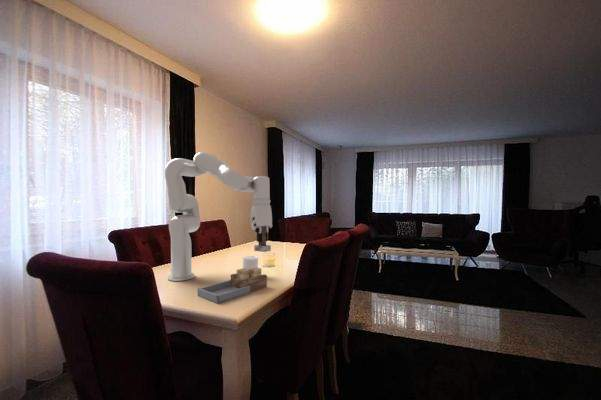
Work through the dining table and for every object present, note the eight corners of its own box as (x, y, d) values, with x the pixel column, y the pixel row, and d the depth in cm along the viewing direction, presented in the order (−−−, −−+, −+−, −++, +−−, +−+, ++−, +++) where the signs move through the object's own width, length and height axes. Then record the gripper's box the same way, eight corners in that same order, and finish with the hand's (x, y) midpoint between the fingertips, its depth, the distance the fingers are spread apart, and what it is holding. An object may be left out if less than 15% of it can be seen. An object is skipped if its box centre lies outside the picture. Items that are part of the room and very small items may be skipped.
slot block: (230, 286, 129) (230, 274, 129) (248, 281, 137) (248, 270, 137) (249, 292, 121) (249, 279, 121) (266, 287, 129) (266, 275, 129)
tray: (197, 295, 117) (197, 288, 117) (230, 286, 130) (230, 280, 130) (217, 303, 108) (217, 296, 108) (250, 293, 121) (250, 286, 121)
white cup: (240, 276, 147) (240, 256, 147) (255, 274, 150) (255, 255, 150) (245, 280, 140) (244, 259, 140) (260, 278, 143) (260, 258, 143)
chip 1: (236, 278, 128) (236, 269, 128) (243, 276, 131) (243, 268, 131) (242, 280, 126) (242, 271, 126) (249, 278, 129) (249, 269, 129)
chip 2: (248, 277, 130) (248, 268, 130) (255, 275, 133) (255, 267, 133) (254, 279, 127) (254, 270, 127) (261, 277, 130) (261, 268, 130)
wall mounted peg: (254, 250, 136) (253, 226, 136) (260, 249, 139) (260, 225, 139) (264, 252, 131) (263, 226, 131) (270, 250, 134) (270, 226, 134)
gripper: (268, 202, 143) (269, 238, 144) (243, 202, 131) (243, 242, 131) (279, 202, 139) (279, 240, 139) (253, 202, 126) (254, 244, 126)
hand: (262, 241), depth 135 cm, fingers closed on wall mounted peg, 2 cm apart
